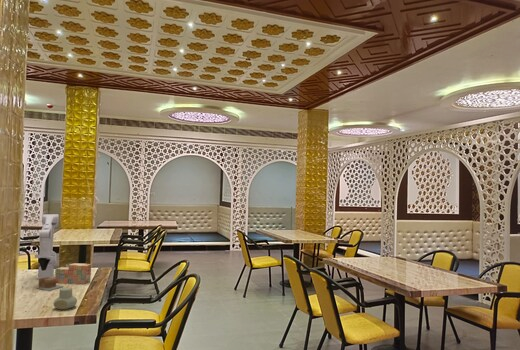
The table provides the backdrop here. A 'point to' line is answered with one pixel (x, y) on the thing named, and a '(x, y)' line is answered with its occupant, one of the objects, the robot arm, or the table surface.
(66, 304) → the air freshener
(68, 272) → the stack of blocks
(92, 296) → the table surface
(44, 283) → the walnut block
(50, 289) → the slate mat
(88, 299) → the table surface
